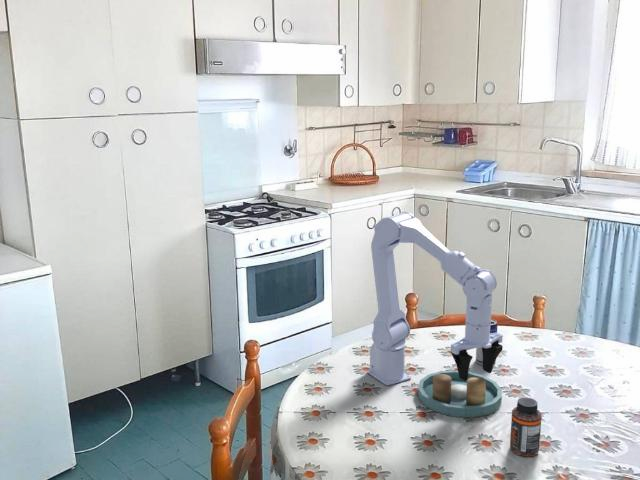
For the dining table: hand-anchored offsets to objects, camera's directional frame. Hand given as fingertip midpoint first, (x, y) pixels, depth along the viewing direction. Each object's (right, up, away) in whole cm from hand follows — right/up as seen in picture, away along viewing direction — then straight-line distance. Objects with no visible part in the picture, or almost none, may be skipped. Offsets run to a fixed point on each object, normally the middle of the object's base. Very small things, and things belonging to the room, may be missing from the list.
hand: (475, 375), depth 156 cm
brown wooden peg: (-8, -7, +2) cm, 10 cm away
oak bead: (0, -7, 0) cm, 7 cm away
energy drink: (+9, -2, +24) cm, 26 cm away
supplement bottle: (+6, -12, -18) cm, 23 cm away
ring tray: (-3, -6, +5) cm, 8 cm away
